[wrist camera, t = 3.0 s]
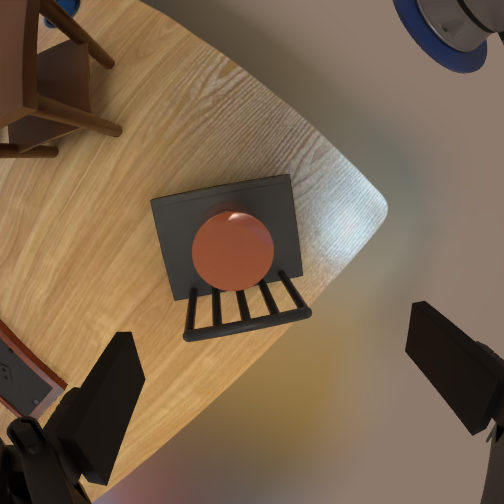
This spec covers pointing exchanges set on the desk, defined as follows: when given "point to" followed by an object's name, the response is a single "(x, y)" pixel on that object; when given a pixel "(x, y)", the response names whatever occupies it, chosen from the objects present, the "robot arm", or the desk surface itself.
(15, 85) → the side table
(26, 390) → the picture frame
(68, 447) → the robot arm
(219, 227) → the cylinder
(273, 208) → the slatted back chair
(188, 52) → the desk surface
